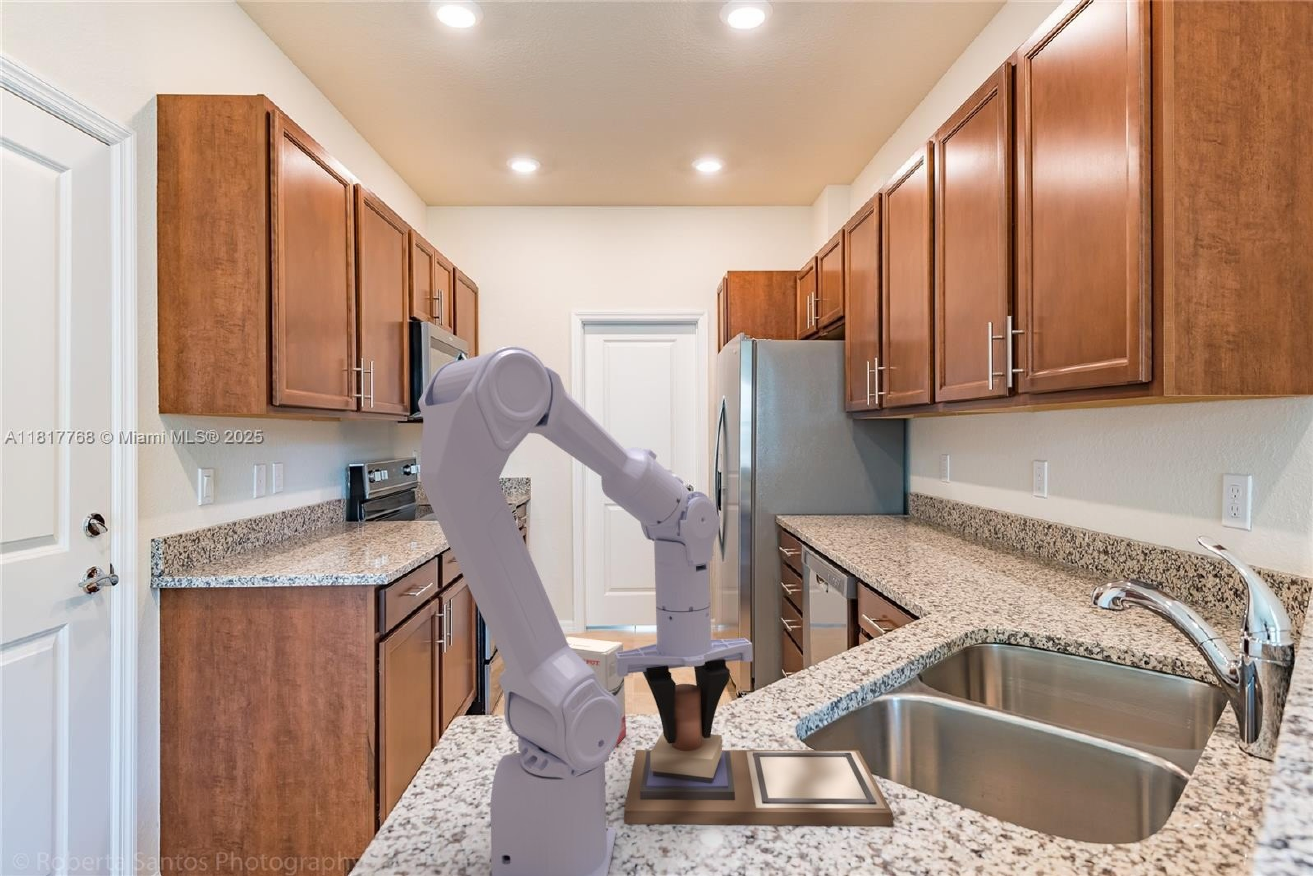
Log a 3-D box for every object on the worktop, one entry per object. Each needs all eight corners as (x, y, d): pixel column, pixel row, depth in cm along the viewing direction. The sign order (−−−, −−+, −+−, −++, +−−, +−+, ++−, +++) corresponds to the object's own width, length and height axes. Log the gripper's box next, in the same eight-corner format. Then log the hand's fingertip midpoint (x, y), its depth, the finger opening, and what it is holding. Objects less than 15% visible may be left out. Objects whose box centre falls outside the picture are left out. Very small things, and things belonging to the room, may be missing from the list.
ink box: (627, 735, 77) (625, 640, 77) (608, 753, 72) (606, 652, 73) (569, 725, 80) (567, 634, 81) (547, 742, 76) (545, 645, 76)
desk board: (624, 823, 58) (623, 799, 59) (636, 760, 70) (635, 740, 70) (893, 826, 57) (892, 801, 57) (858, 761, 69) (858, 740, 69)
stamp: (650, 776, 63) (648, 697, 63) (664, 751, 68) (662, 678, 68) (713, 784, 61) (710, 702, 61) (722, 757, 66) (720, 682, 66)
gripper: (622, 621, 59) (626, 765, 59) (762, 608, 62) (767, 743, 62) (609, 604, 66) (613, 733, 65) (737, 593, 69) (741, 715, 69)
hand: (686, 736), depth 64 cm, fingers closed on stamp, 3 cm apart
